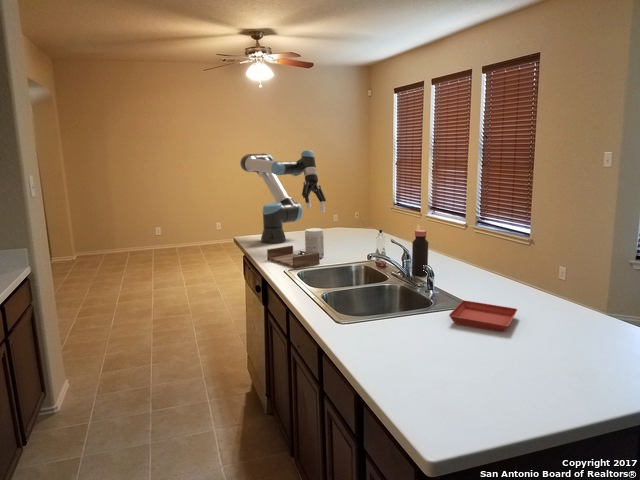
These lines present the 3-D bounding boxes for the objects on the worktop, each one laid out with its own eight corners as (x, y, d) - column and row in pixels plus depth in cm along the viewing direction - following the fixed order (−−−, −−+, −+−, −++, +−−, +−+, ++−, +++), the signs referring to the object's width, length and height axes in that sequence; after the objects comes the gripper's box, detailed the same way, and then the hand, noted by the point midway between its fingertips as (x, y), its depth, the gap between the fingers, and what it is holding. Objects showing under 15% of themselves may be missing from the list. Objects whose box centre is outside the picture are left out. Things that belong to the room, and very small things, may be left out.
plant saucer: (517, 317, 157) (518, 308, 156) (507, 335, 141) (508, 325, 141) (462, 308, 166) (462, 299, 165) (447, 325, 151) (448, 315, 150)
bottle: (409, 276, 208) (410, 231, 204) (414, 272, 214) (415, 228, 210) (424, 277, 205) (426, 232, 201) (429, 274, 211) (430, 230, 207)
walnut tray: (267, 259, 242) (267, 249, 241) (291, 255, 251) (291, 245, 250) (294, 268, 223) (294, 257, 222) (319, 263, 233) (319, 252, 232)
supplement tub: (316, 254, 253) (315, 227, 251) (327, 257, 246) (327, 229, 244) (301, 257, 247) (301, 229, 245) (313, 260, 240) (312, 231, 237)
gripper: (302, 168, 263) (308, 204, 258) (328, 178, 284) (333, 212, 278) (292, 173, 267) (297, 208, 262) (318, 182, 288) (323, 215, 282)
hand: (316, 210), depth 270 cm, fingers open, 13 cm apart
